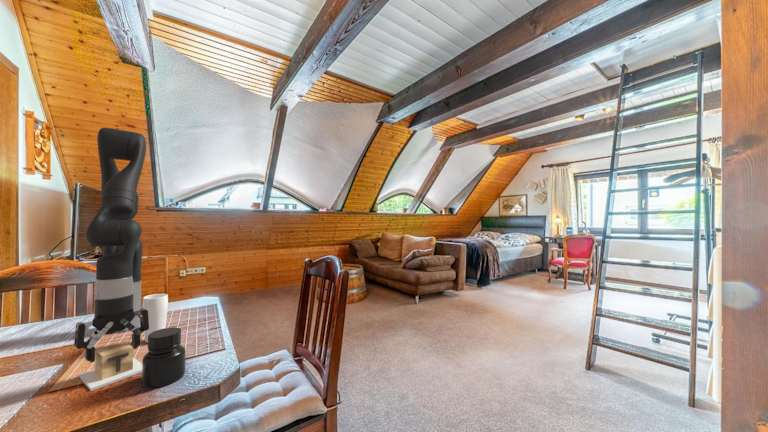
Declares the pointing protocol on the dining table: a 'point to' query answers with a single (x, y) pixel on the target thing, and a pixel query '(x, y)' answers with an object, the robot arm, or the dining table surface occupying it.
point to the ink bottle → (163, 358)
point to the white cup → (155, 312)
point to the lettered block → (113, 360)
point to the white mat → (96, 382)
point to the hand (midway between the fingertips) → (114, 354)
